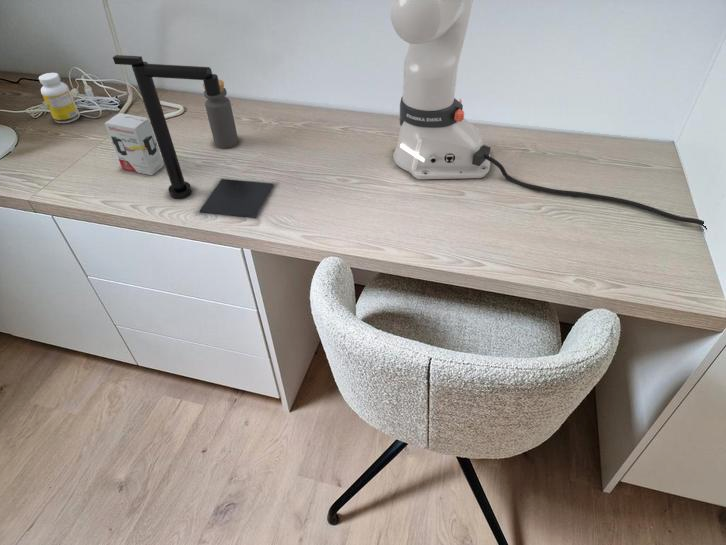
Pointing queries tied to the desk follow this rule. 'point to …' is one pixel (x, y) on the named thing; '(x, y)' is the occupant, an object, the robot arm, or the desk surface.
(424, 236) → the desk surface
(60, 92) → the pill bottle
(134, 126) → the ink box
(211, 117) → the bottle
